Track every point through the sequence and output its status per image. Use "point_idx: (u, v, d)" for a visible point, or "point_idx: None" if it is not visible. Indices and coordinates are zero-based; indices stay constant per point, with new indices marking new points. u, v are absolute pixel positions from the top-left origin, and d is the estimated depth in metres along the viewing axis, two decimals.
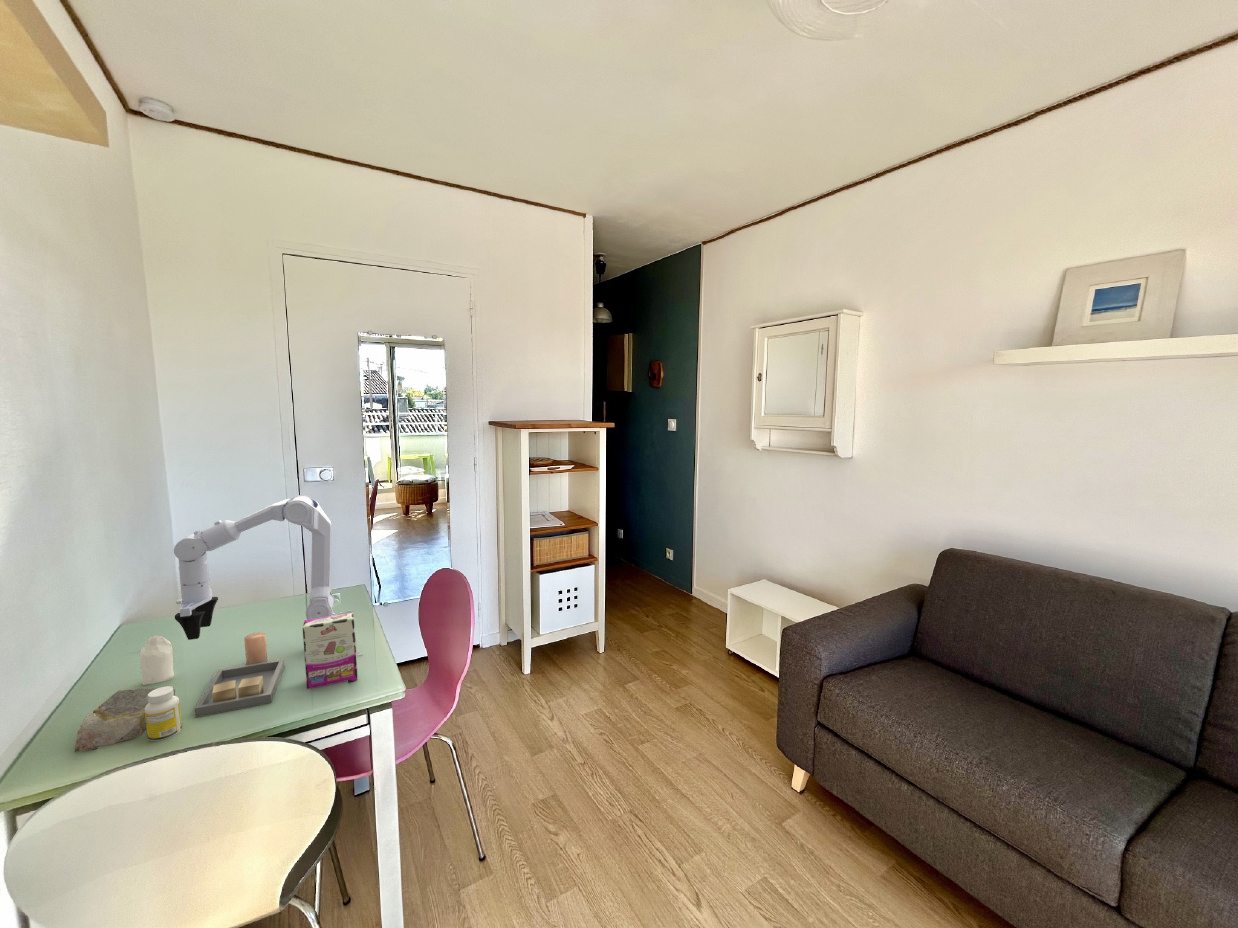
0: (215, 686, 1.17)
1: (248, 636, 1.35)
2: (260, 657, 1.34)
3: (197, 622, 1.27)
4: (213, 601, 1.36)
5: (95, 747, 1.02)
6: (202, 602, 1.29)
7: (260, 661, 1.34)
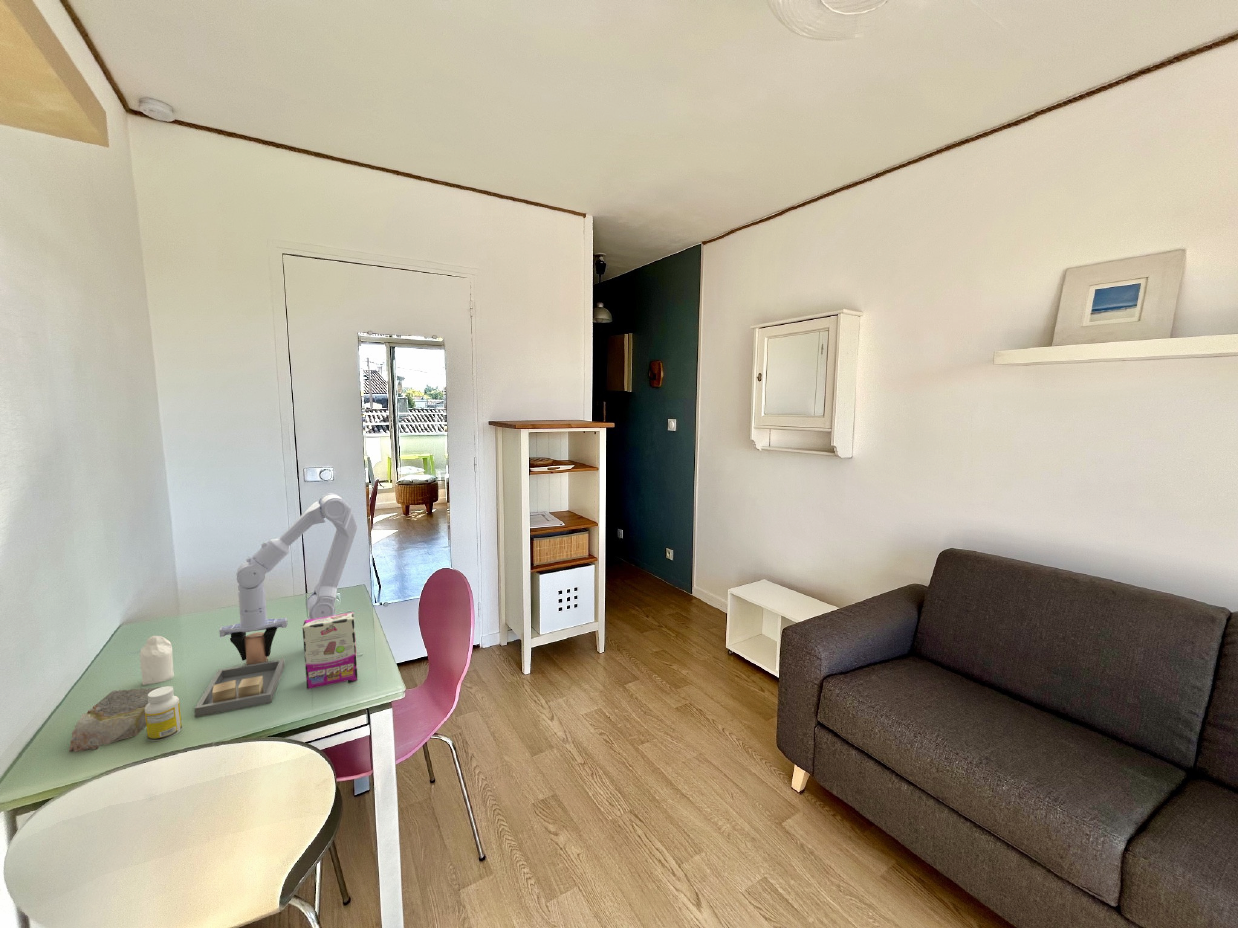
0: (215, 686, 1.17)
1: (248, 636, 1.35)
2: (260, 657, 1.34)
3: None
4: (264, 634, 1.34)
5: (90, 747, 1.02)
6: (238, 630, 1.32)
7: (260, 661, 1.34)
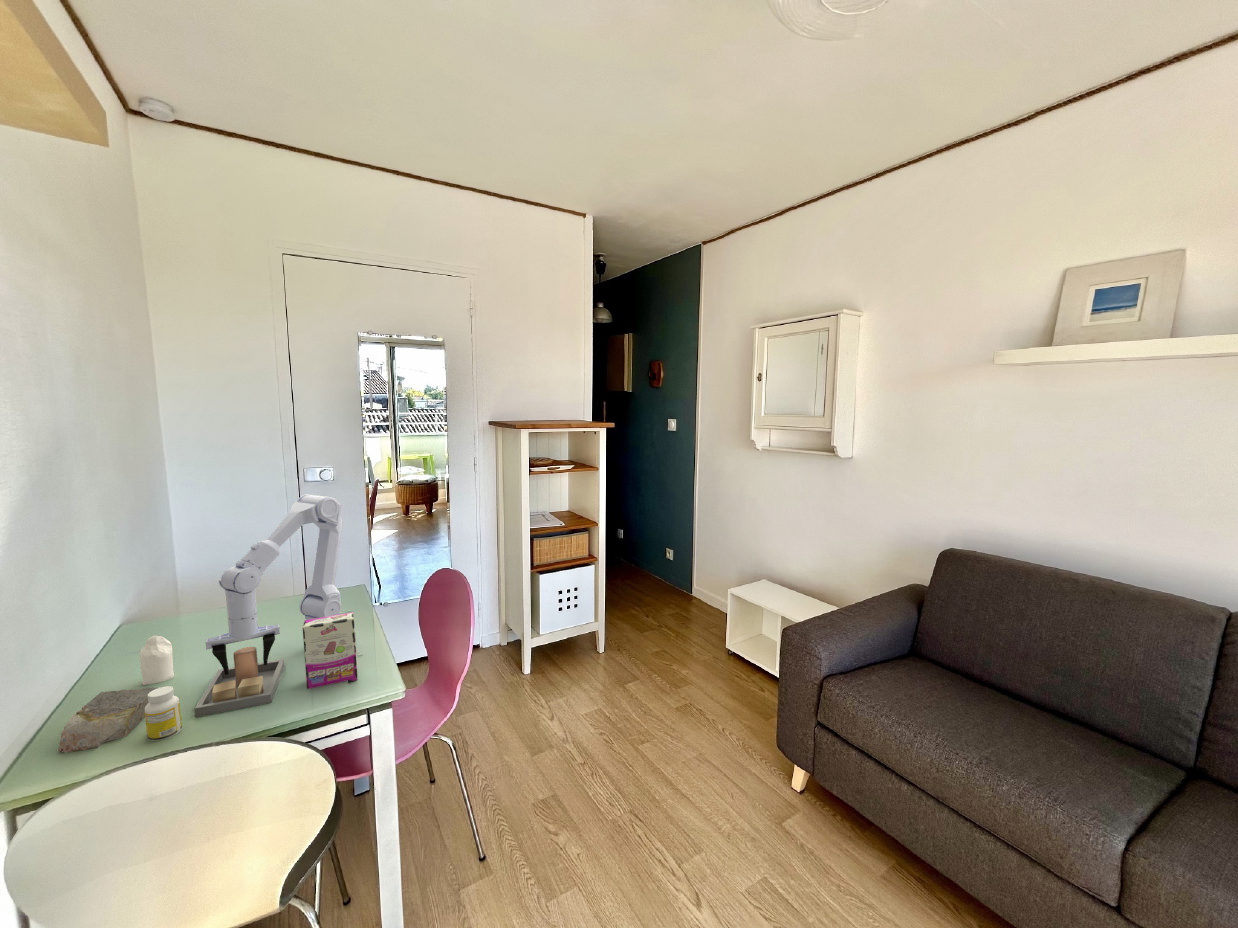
0: (215, 686, 1.17)
1: (237, 652, 1.25)
2: (253, 672, 1.25)
3: None
4: (263, 642, 1.26)
5: (80, 748, 1.02)
6: (228, 640, 1.22)
7: None
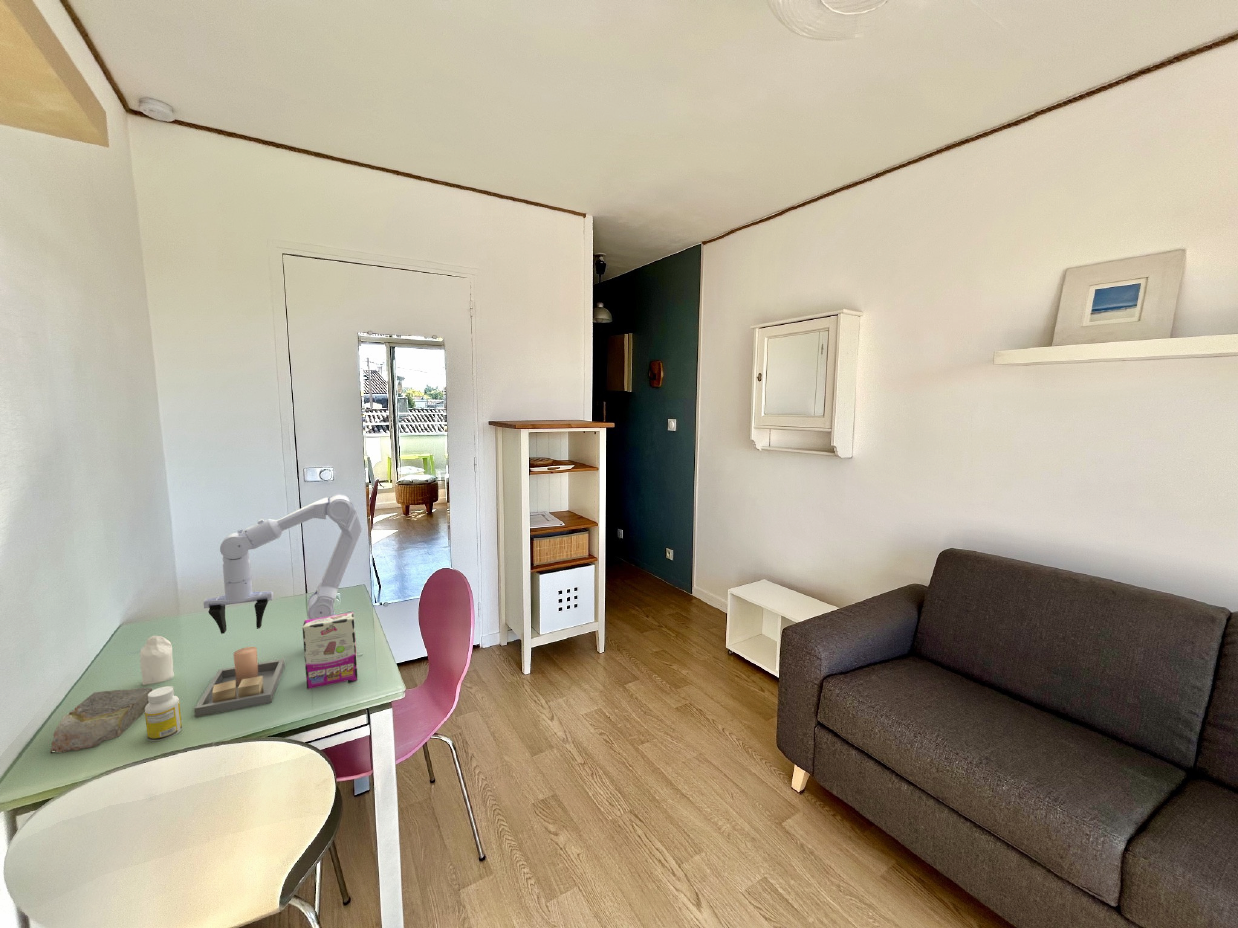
0: (215, 686, 1.17)
1: (237, 652, 1.25)
2: (253, 672, 1.25)
3: None
4: None
5: (72, 748, 1.02)
6: (223, 601, 1.30)
7: None
